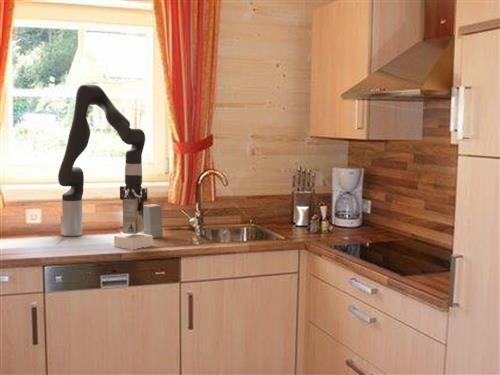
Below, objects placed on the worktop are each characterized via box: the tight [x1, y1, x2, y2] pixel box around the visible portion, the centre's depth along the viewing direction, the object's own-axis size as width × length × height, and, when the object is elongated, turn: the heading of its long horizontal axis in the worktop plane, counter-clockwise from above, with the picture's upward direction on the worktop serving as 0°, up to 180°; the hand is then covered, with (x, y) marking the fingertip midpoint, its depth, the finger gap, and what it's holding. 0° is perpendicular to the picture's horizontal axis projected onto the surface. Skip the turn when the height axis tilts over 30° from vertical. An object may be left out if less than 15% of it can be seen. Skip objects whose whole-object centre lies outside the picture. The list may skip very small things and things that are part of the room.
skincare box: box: [143, 203, 164, 239], centre depth 283 cm, size 8×7×16 cm
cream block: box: [113, 232, 154, 251], centre depth 261 cm, size 12×12×5 cm
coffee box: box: [122, 196, 144, 234], centre depth 260 cm, size 9×6×16 cm
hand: (133, 210), depth 260 cm, fingers closed on coffee box, 7 cm apart
